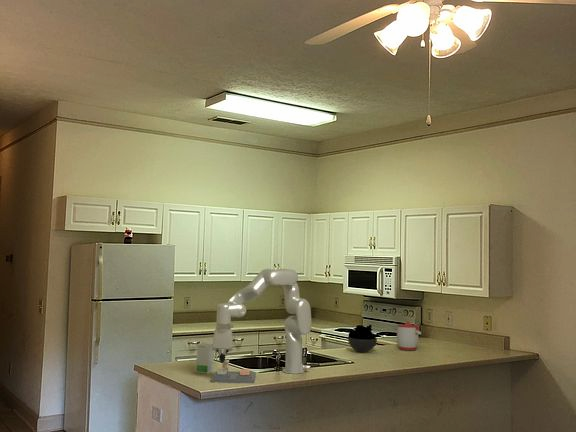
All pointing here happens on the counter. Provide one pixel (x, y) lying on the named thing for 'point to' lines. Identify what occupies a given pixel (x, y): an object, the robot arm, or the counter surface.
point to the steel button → (222, 371)
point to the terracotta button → (245, 372)
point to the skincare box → (204, 358)
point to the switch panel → (234, 377)
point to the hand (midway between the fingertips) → (222, 362)
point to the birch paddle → (225, 364)
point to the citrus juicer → (407, 336)
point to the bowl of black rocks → (362, 339)
